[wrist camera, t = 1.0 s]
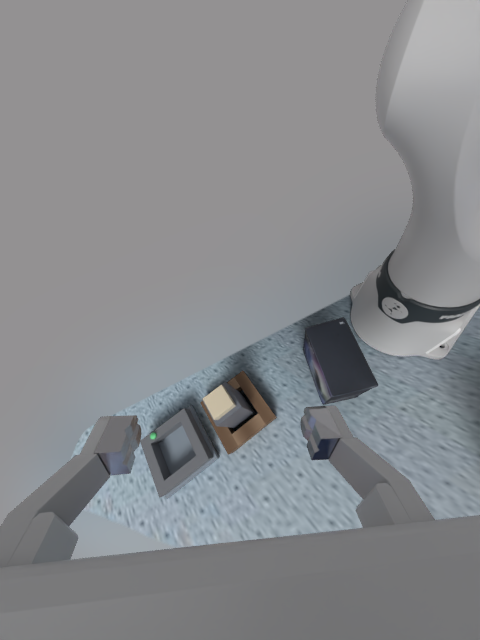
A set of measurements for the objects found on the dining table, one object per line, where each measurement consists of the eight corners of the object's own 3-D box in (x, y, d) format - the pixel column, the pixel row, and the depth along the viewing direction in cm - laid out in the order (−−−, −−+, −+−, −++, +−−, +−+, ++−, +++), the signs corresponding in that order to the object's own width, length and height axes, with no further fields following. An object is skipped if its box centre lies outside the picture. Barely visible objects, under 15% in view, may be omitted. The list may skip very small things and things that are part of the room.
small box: (300, 349, 42) (302, 326, 33) (333, 340, 41) (345, 314, 32) (320, 406, 37) (330, 397, 28) (359, 397, 36) (382, 385, 27)
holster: (245, 374, 42) (242, 370, 39) (276, 417, 37) (275, 416, 35) (206, 404, 41) (200, 402, 38) (232, 452, 36) (228, 454, 34)
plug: (242, 394, 40) (222, 379, 28) (255, 413, 38) (239, 405, 27) (225, 407, 40) (197, 397, 28) (236, 427, 38) (212, 425, 26)
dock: (193, 406, 41) (184, 403, 38) (219, 457, 36) (212, 460, 33) (148, 439, 40) (135, 440, 37) (169, 497, 35) (156, 504, 32)
